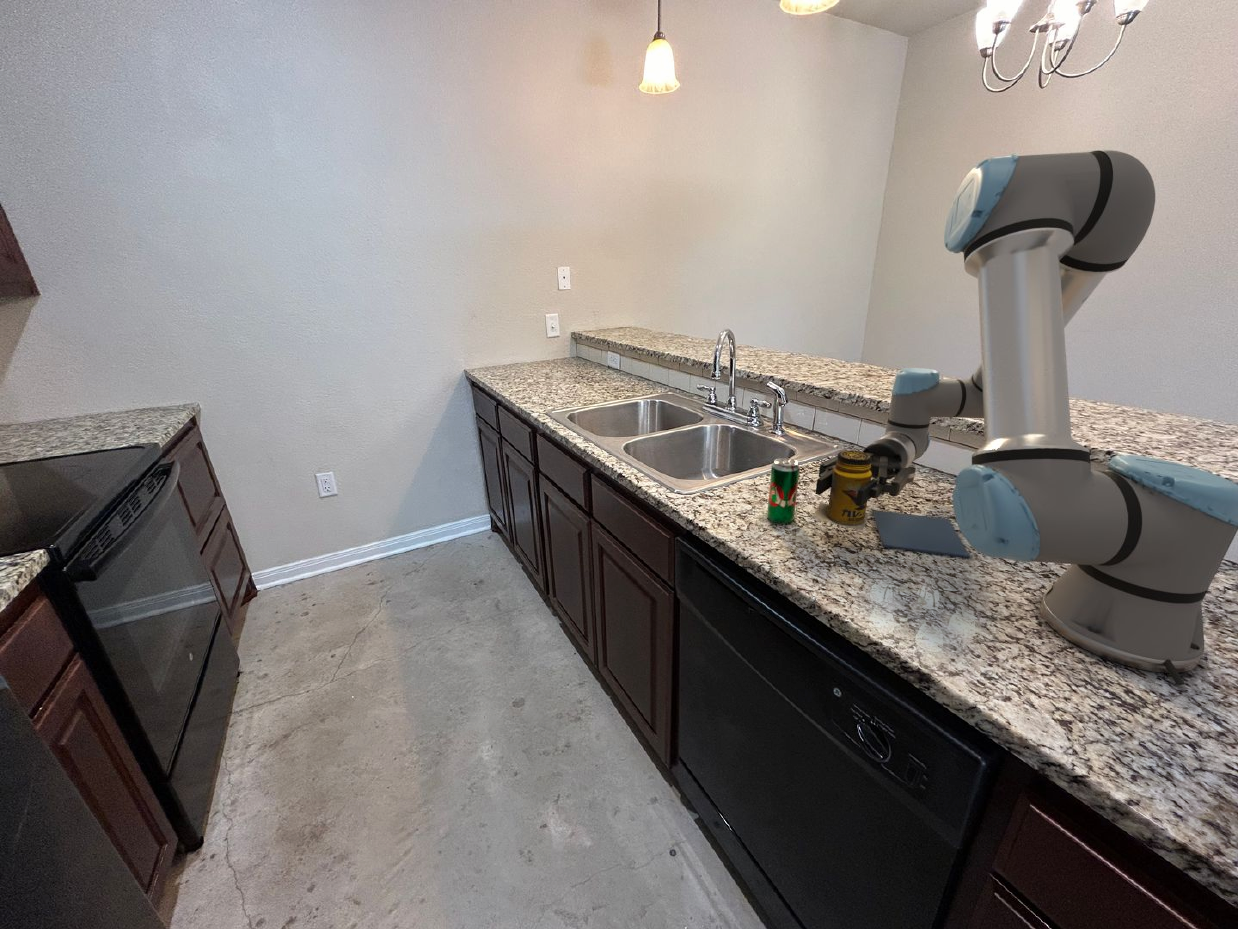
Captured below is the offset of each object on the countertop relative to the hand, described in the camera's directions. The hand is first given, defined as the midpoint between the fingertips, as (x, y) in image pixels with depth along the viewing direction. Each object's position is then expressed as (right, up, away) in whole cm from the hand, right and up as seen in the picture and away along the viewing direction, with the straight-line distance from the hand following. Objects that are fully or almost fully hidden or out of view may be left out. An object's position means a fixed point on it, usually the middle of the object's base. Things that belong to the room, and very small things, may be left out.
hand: (838, 492), depth 82 cm
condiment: (+3, -5, +6) cm, 9 cm away
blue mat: (+18, -8, +9) cm, 22 cm away
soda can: (-5, -6, +15) cm, 17 cm away
